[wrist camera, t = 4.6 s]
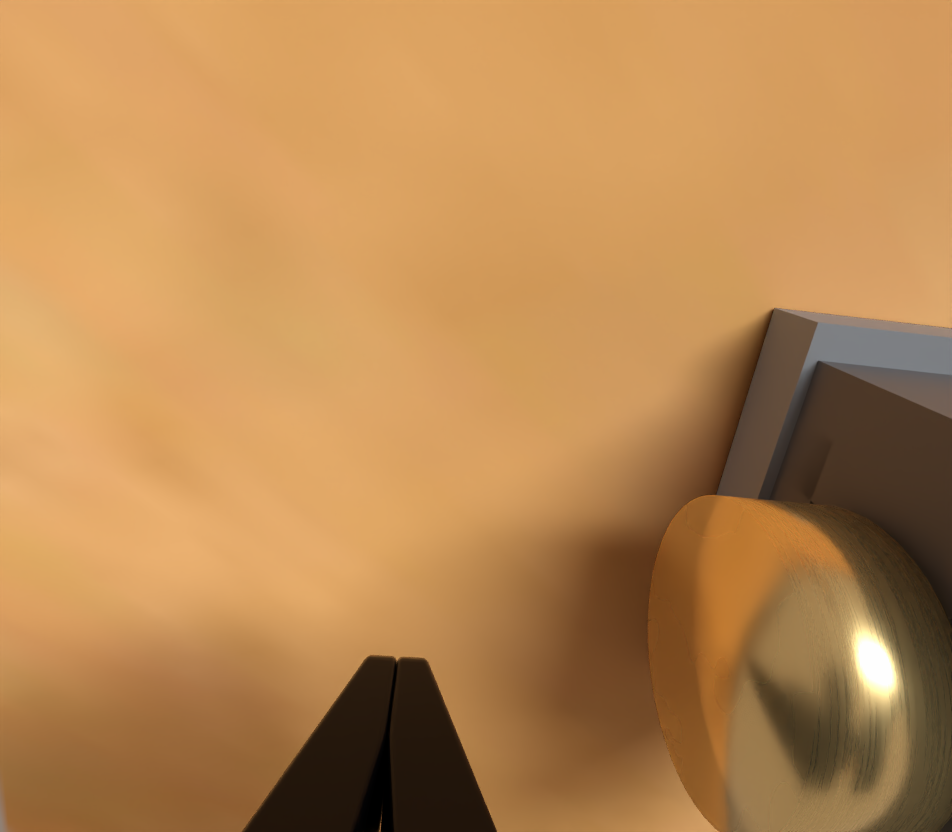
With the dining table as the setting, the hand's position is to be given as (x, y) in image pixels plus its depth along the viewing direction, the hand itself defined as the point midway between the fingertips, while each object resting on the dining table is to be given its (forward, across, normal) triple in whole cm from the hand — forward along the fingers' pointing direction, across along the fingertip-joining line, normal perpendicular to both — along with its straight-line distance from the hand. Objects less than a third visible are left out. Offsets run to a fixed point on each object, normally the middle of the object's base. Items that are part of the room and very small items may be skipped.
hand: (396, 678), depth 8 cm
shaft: (+3, -12, 0) cm, 13 cm away
